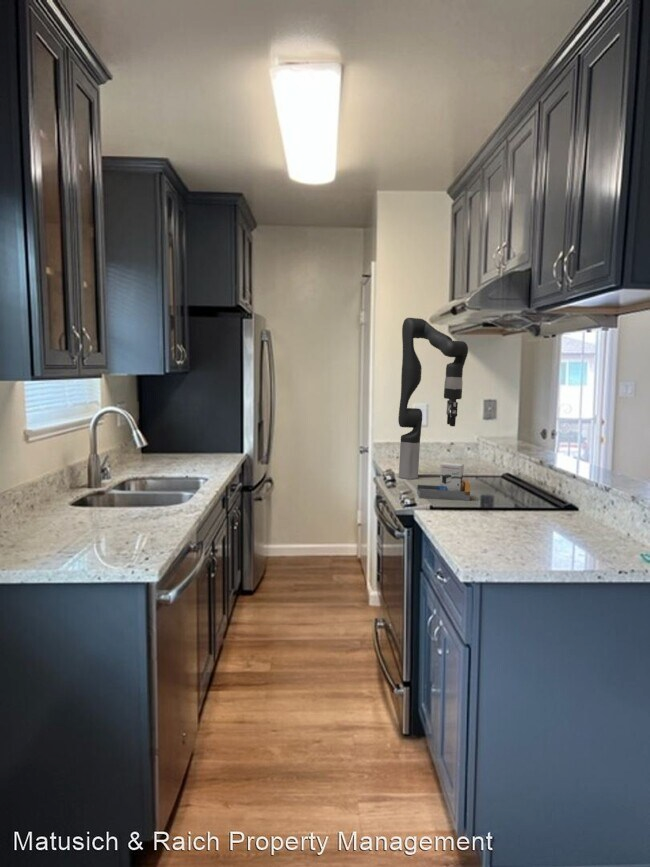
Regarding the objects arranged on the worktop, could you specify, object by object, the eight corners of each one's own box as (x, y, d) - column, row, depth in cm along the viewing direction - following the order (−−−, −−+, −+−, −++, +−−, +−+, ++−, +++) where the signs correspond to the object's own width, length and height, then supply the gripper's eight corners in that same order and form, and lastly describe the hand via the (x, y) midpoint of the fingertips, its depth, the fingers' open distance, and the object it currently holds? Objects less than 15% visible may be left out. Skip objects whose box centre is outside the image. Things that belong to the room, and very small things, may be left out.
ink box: (438, 491, 244) (440, 463, 243) (441, 489, 249) (443, 462, 248) (459, 494, 241) (461, 465, 240) (462, 492, 245) (464, 464, 244)
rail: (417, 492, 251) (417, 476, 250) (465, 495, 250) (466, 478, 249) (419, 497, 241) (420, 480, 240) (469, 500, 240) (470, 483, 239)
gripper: (442, 386, 264) (440, 423, 265) (446, 387, 249) (444, 426, 251) (459, 387, 263) (457, 424, 265) (464, 388, 249) (462, 427, 251)
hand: (450, 425), depth 258 cm, fingers open, 8 cm apart
